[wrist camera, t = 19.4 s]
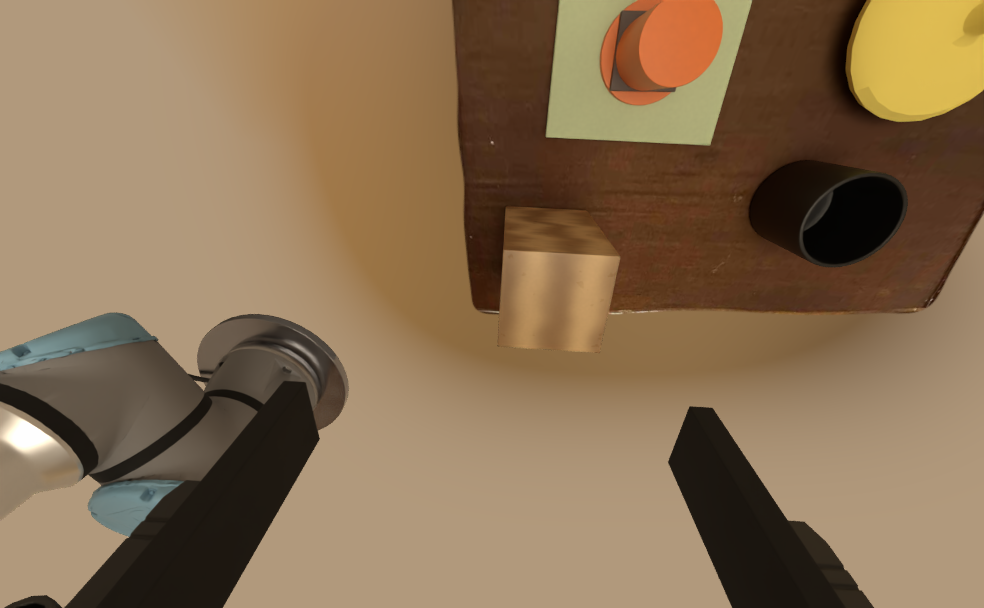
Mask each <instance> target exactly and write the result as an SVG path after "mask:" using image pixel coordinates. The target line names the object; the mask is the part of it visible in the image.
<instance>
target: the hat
mask: <svg viewBox="0 0 984 608" xmlns="http://www.w3.org/2000/svg"><path fill="white" fill-rule="evenodd" d="M722 34H723V21H722V16H721V12H720V10H719V7H718V5H717V4H716V2H715V1H714V0H637V1H636V2H634V3H632V4H631V5H629V6H628V7H627V8H625V9H624V10H622V11H621V12H620V14H619V15H618V16H617V17H616V18H615V20H614V21H613V22H612V24H611V25H610V27H609V29H608V31H607V32H606V35H605V37H604V39H603V43H602V46H601V51H600V72H601V76H602V80H603V82H604V84H605V86H606V88H607V90H608V91H609V92H610V93H611V95H612V96H614V97H615V98H616V99H617V100H619V101H621V102H623V103H625V104H629V105H647V104H651V103H654V102H657V101H659V100H661V99H663V98H664V97H666V96H667V95H669V94H670V93H671V92H675V91H676V87H680V86H683V85H686V84H688V83H690V82H692V81H694V80H695V79H697V78H698V77H699V76H700V75H701V74H702V73H703V72H705V71H706V69H707V68H708V67H709V66H710V64H711V63H712V61H713V60H714V58H715V56H716V54H717V52H718V49H719V47H720V44H721V40H722Z"/></svg>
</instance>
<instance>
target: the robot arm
mask: <svg viewBox="0 0 984 608" xmlns="http://www.w3.org/2000/svg"><path fill="white" fill-rule="evenodd" d="M157 341H158V339H157V338H156V337H155V336H151V335H150V334H149V333H148V332H147V331H146V330H145V329H144V328H143V327H142V326H141V325H140V324H139V323H138V322H137V321H136V320H135V319H133V318H132V317H130V316H129V315H126V314H123V313H107V314H104V315H100V316H97V317H94V318H91V319H89V320H85V321H83V322H80V323H77V324H74V325H71V326H69V327H66V328H63V329H60V330H58V331H55V332H52V333H50V334H47V335H44V336H42V337H39V338H36V339H34V340H31V341H29V342H26V343H24V344H21V345H18V346H15V347H12V348H10V349H7V350H5V351H1V352H0V521H1V520H2V519H3V518H5V517H6V516H7V515H8V514H10V513H11V512H12V511H14V510H15V509H16V508H17V507H19V506H20V505H21V504H22V503H24V502H25V501H26V500H28V499H29V498H30V497H31V496H32V495H34V494H36V493H39V492H43V491H48V490H54V489H60V488H66V487H71V486H73V485H75V484H76V483H78V482H79V481H80V480H82V479H83V478H84V477H85V476H86V475H89V476H91V477H92V478H93V479H94V480H96V481H97V482H99V483H100V484H101V487H99V488H98V489H97V490H96V491H94V492H93V495H92V497H91V499H90V501H89V503H88V509H89V511H91V515H92V517H93V518H94V519H95V520H96V521H98V522H99V523H101V524H102V525H104V526H105V527H107V528H109V529H111V530H113V531H115V532H118V533H120V534H123V535H126V536H128V537H129V538H127V539H125V541H124V542H123V543H122V544H121V545H120V546H119V547H118V548H117V550H116V551H115V552H114V553H113V554H112V555H111V556H110V557H109V559H108V560H107V561H106V562H105V563H104V564H103V565H102V567H101V568H100V569H99V570H98V571H97V572H96V573H95V575H93V577H92V578H91V579H90V580H89V581H88V582H87V583H86V584H85V585H84V587H83V588H82V589H81V590H80V591H79V592H78V593H77V594H76V596H75V597H74V598H73V599H72V600H71V601H70V602H69V603H68V604H67V606H66V607H65V608H223V606H224V604H225V603H226V601H227V599H228V597H229V596H230V594H231V592H232V591H233V588H234V587H235V585H236V584H237V582H238V580H239V578H240V577H241V575H242V573H243V571H244V570H245V568H246V566H247V564H248V563H249V561H250V559H251V557H252V556H253V554H254V552H255V551H256V549H257V547H258V545H259V544H260V542H261V540H262V538H263V537H264V535H265V533H266V531H267V530H268V528H269V526H270V524H271V523H272V521H273V519H274V517H275V516H276V514H277V512H278V511H279V509H280V507H281V505H282V504H283V502H284V500H285V498H286V497H287V495H288V493H289V491H290V490H291V488H292V486H293V484H294V483H295V481H296V479H297V477H298V476H299V474H300V472H301V471H302V469H303V467H304V465H305V464H306V462H307V460H308V458H309V457H310V455H311V453H312V451H313V450H314V448H315V446H316V445H317V442H318V441H319V439H320V438H319V434H318V430H317V426H316V422H315V418H314V414H313V410H314V409H315V407H316V406H317V404H318V402H319V400H320V396H321V386H320V382H319V379H318V377H317V375H316V373H315V372H314V370H313V369H312V368H311V366H310V365H309V364H308V363H307V362H306V361H305V360H304V359H302V358H301V357H300V356H298V355H297V354H296V353H294V352H292V351H291V350H289V349H287V348H284V347H282V346H279V345H276V344H272V343H268V342H258V341H255V342H246V343H242V344H240V345H237V346H236V347H234V348H233V349H231V350H230V351H229V352H228V353H227V354H225V355H224V356H223V357H222V358H221V359H220V360H219V362H218V363H217V366H216V368H215V370H214V373H213V374H212V376H211V378H205V377H199V376H194V375H190V374H187V373H186V372H185V371H184V369H183V368H182V367H181V366H180V365H178V363H177V362H176V361H175V360H174V359H173V358H172V357H171V356H170V355H169V354H168V353H167V351H165V349H164V348H163V347H162V346H161V345H160V344H159V343H158V342H157ZM194 380H195V381H201V382H206V383H208V384H207V386H206V388H205V390H204V391H203V390H202V389H201V388H200V386H199V385H198V384H197V383H196V382H195V381H194ZM668 463H669V465H670V467H671V470H672V472H673V475H674V477H675V479H676V481H677V484H678V486H679V488H680V490H681V493H682V495H683V497H684V499H685V501H686V504H687V506H688V508H689V511H690V513H691V515H692V518H693V520H694V522H695V524H696V527H697V529H698V531H699V533H700V535H701V538H702V540H703V543H704V545H705V547H706V549H707V551H708V554H709V556H710V558H711V561H712V563H713V565H714V567H715V569H716V572H717V574H718V577H719V579H720V581H721V583H722V586H723V588H724V590H725V592H726V595H727V597H728V599H729V601H730V604H731V606H732V608H874V607H873V606H872V604H871V603H870V602H869V600H868V599H867V597H866V596H865V595H864V593H863V592H862V591H860V590H859V589H858V585H857V584H856V582H855V581H854V579H853V578H852V577H851V575H850V574H849V573H848V571H846V570H844V567H843V564H842V563H841V561H840V560H839V559H838V557H837V556H836V555H835V553H834V552H833V550H832V549H831V548H830V546H829V545H828V544H827V543H826V541H825V540H823V539H822V538H821V537H820V536H819V535H818V534H817V533H816V532H814V530H813V529H812V528H811V527H809V526H808V525H807V524H806V523H805V522H800V521H788V520H787V519H786V517H785V516H784V514H783V513H782V511H781V510H780V508H779V507H778V505H777V504H776V502H775V501H774V499H773V498H772V496H771V495H770V493H769V492H768V490H767V489H766V488H765V486H764V484H763V483H762V481H761V480H760V478H759V477H758V475H757V474H756V472H755V471H754V469H753V468H752V466H751V465H750V463H749V462H748V460H747V459H746V457H745V456H744V455H743V453H742V451H741V450H740V448H739V447H738V445H737V444H736V442H735V441H734V439H733V438H732V436H731V435H730V433H729V432H728V430H727V429H726V427H725V426H724V424H723V423H722V421H721V420H720V419H719V417H718V416H717V414H716V413H715V411H714V409H713V408H706V407H689V409H688V412H687V414H686V417H685V420H684V422H683V425H682V427H681V430H680V433H679V435H678V438H677V440H676V443H675V446H674V448H673V451H672V453H671V456H670V458H669V461H668ZM5 608H62V607H61V606H60V605H59V604H58V603H57V602H56V601H55V600H53V599H52V598H50V597H48V596H47V595H44V596H31V597H28V598H25V599H23V600H20V601H17V602H14V603H12V604H10V605H8V606H7V607H5Z"/></svg>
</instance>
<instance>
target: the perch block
mask: <svg viewBox="0 0 984 608" xmlns="http://www.w3.org/2000/svg"><path fill="white" fill-rule="evenodd" d="M619 261H620V255H619V254H618V253H617V251H616V250H615V248H614V247H613V246H612V244H611V243H610V242H609V240H608V239H607V237H606V236H605V235H604V233H603V232H602V231H601V229H600V228H599V226H598V225H597V224H596V222H595V221H594V220H593V218H592V217H591V215H590V214H589V213H588V211H587V210H571V209H552V208H533V207H514V206H506V208H505V225H504V242H503V259H502V276H501V293H500V311H499V329H498V347H512V348H528V349H545V350H563V351H578V352H595V353H600V349H601V345H602V339H603V335H604V330H605V325H606V321H607V317H608V312H609V308H610V303H611V298H612V294H613V289H614V285H615V280H616V275H617V271H618V266H619Z"/></svg>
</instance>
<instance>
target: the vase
mask: <svg viewBox="0 0 984 608" xmlns="http://www.w3.org/2000/svg"><path fill="white" fill-rule="evenodd" d="M846 75H847V79H848V84H849V89H850V91H851V92H852V94H853V95H854V97H855V98H856V100H857V102H858V103H859V104H860V105H861V106H863V107H864V108H866V109H867V110H869V111H870V112H872V113H873V114H875V115H876V116H878V117H880V118H884V119H888V120H892V121H896V122H907V121H921V120H924V119H928V118H931V117H934V116H937V115H941V114H944V113H946V112H948V111H950V110H952V109H954V108H956V107H958V106H960V105H961V104H963V103H965V102H967V101H969V100H971V99H972V98H973V97H975V96H976V95H977V94H979V93H980V92H981V91H983V90H984V0H867V1H866V2H865V4H864V6H863V8H862V10H861V12H860V14H859V16H858V17H857V19H856V21H855V24H854V27H853V30H852V34H851V37H850V40H849V43H848V46H847V57H846Z"/></svg>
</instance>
